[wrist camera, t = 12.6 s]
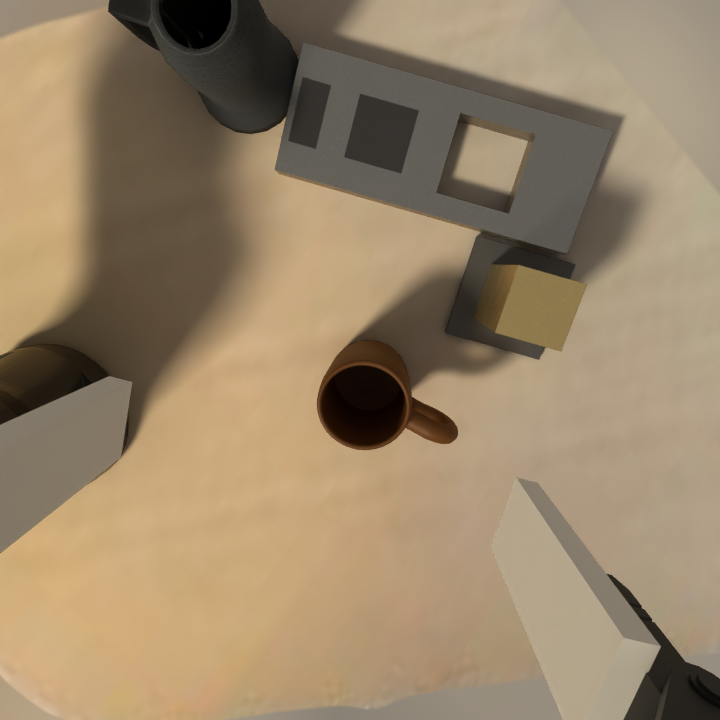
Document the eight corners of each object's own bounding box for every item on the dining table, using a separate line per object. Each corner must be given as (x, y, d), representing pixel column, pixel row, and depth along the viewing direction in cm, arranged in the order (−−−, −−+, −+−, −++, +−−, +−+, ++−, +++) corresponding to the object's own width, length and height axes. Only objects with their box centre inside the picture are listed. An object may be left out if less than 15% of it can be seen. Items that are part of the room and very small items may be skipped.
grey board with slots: (280, 174, 41) (274, 169, 39) (307, 53, 39) (302, 41, 37) (558, 254, 41) (567, 253, 39) (601, 137, 39) (613, 130, 36)
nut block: (472, 317, 42) (494, 332, 33) (490, 264, 41) (518, 264, 32) (525, 332, 42) (561, 351, 33) (544, 279, 41) (587, 284, 32)
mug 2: (463, 373, 44) (482, 403, 34) (430, 441, 45) (441, 487, 36) (347, 326, 43) (335, 343, 34) (319, 396, 45) (301, 431, 36)
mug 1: (312, 36, 38) (282, -55, 27) (284, 147, 40) (245, 104, 29) (177, -8, 38) (92, -116, 27) (156, 106, 40) (68, 48, 29)
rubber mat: (445, 331, 43) (445, 332, 42) (476, 236, 41) (477, 236, 40) (537, 358, 43) (539, 359, 42) (572, 264, 41) (575, 264, 40)
